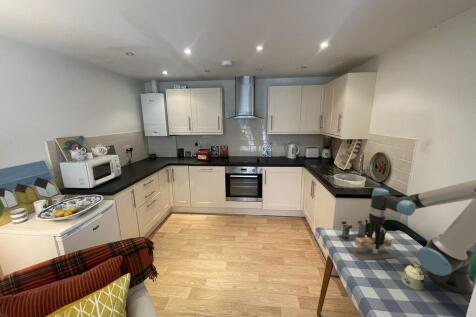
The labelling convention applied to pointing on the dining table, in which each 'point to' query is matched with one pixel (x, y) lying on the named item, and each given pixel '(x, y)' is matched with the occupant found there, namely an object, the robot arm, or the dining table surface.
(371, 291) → the dining table surface
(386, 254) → the mat
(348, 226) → the stand
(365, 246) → the bread loaf
